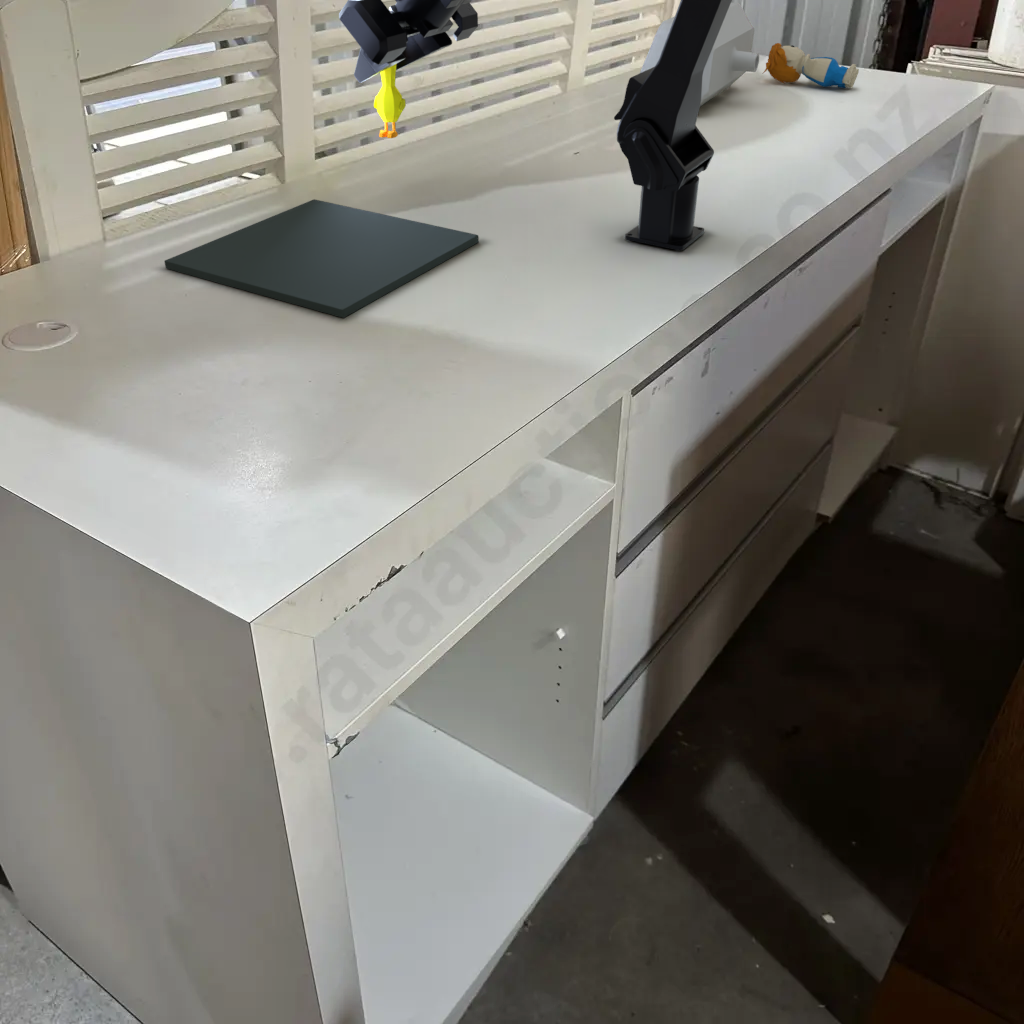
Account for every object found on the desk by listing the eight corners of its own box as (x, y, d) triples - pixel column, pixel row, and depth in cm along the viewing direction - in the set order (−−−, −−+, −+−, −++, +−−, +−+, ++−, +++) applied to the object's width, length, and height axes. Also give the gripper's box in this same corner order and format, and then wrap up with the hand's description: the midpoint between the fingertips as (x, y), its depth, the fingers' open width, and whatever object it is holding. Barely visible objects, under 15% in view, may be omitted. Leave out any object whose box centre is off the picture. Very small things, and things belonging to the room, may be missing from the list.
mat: (343, 318, 83) (342, 309, 83) (165, 268, 92) (163, 260, 92) (478, 242, 99) (478, 234, 98) (314, 206, 108) (314, 198, 107)
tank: (726, 124, 138) (739, 29, 131) (623, 111, 144) (630, 19, 137) (771, 90, 156) (784, 5, 149) (677, 80, 162) (686, -3, 155)
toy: (854, 50, 149) (764, 30, 155) (839, 91, 151) (751, 69, 157) (864, 68, 160) (779, 48, 165) (850, 106, 162) (767, 85, 167)
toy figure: (389, 143, 107) (383, 23, 101) (360, 140, 108) (353, 22, 102) (414, 132, 113) (410, 18, 106) (386, 130, 114) (381, 17, 107)
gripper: (450, -106, 102) (375, 3, 113) (344, -97, 89) (270, 26, 99) (515, -18, 103) (435, 81, 114) (420, 4, 90) (339, 114, 101)
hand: (372, 74), depth 107 cm, fingers closed on toy figure, 5 cm apart
